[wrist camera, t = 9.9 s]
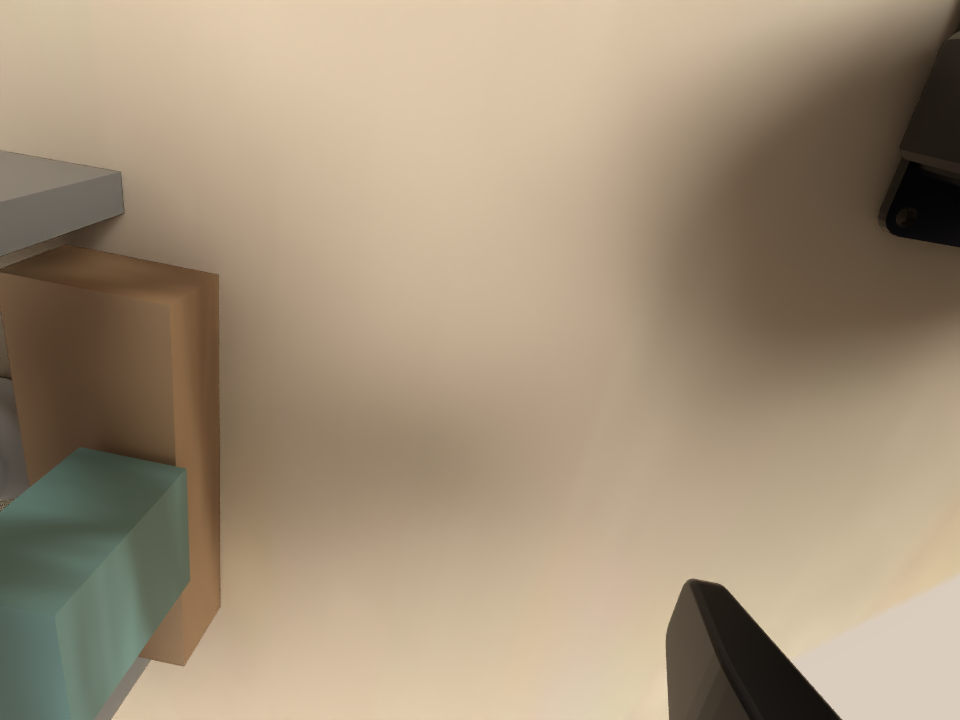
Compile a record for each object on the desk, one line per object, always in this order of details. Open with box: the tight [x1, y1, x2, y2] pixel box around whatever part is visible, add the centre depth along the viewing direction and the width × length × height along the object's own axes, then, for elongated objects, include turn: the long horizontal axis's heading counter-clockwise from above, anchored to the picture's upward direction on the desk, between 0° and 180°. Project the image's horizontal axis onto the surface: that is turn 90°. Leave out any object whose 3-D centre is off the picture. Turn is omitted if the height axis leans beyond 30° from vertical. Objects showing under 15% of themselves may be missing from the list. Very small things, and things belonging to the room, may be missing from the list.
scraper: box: [0, 245, 220, 720], centre depth 19 cm, size 5×14×9 cm, turn 170°
